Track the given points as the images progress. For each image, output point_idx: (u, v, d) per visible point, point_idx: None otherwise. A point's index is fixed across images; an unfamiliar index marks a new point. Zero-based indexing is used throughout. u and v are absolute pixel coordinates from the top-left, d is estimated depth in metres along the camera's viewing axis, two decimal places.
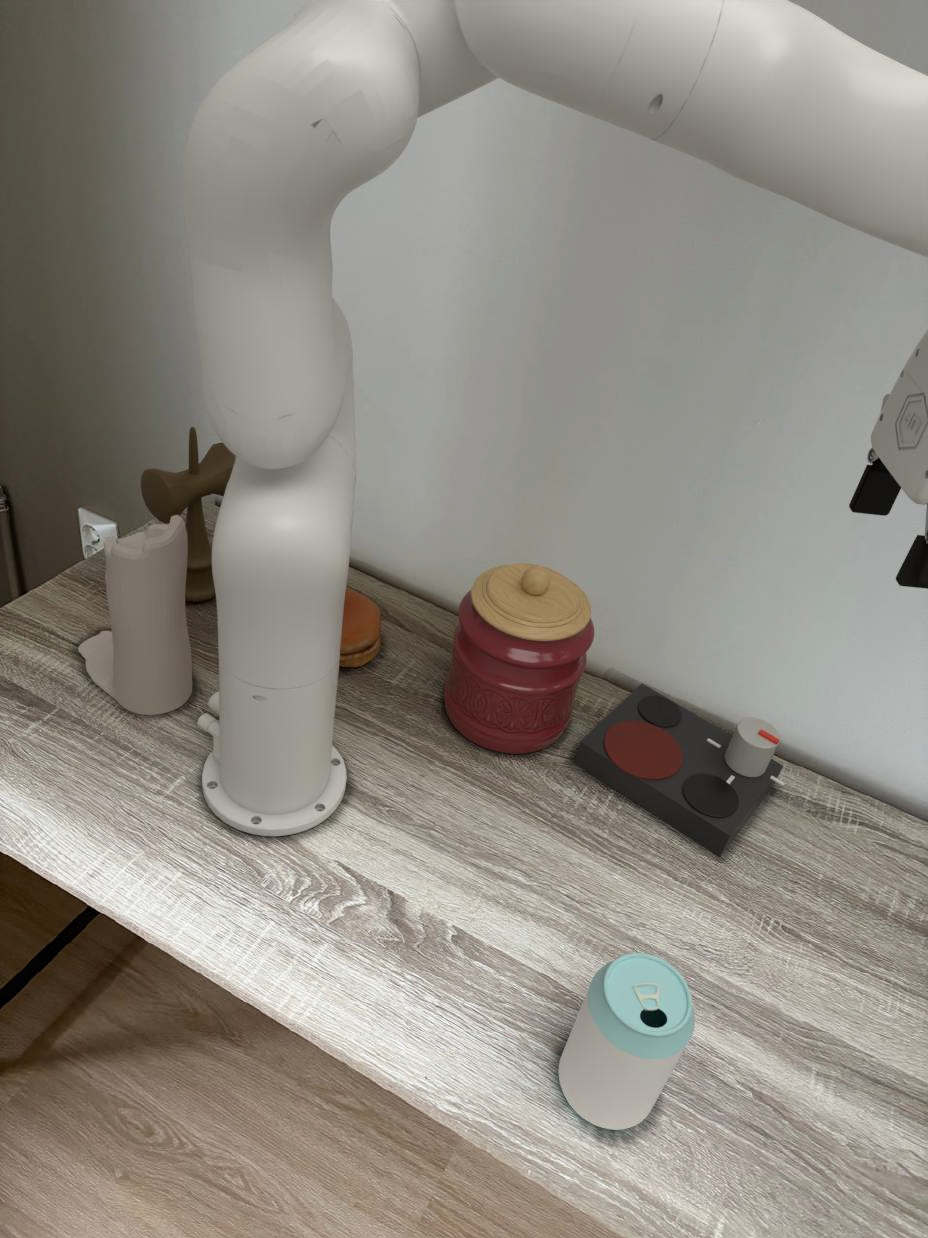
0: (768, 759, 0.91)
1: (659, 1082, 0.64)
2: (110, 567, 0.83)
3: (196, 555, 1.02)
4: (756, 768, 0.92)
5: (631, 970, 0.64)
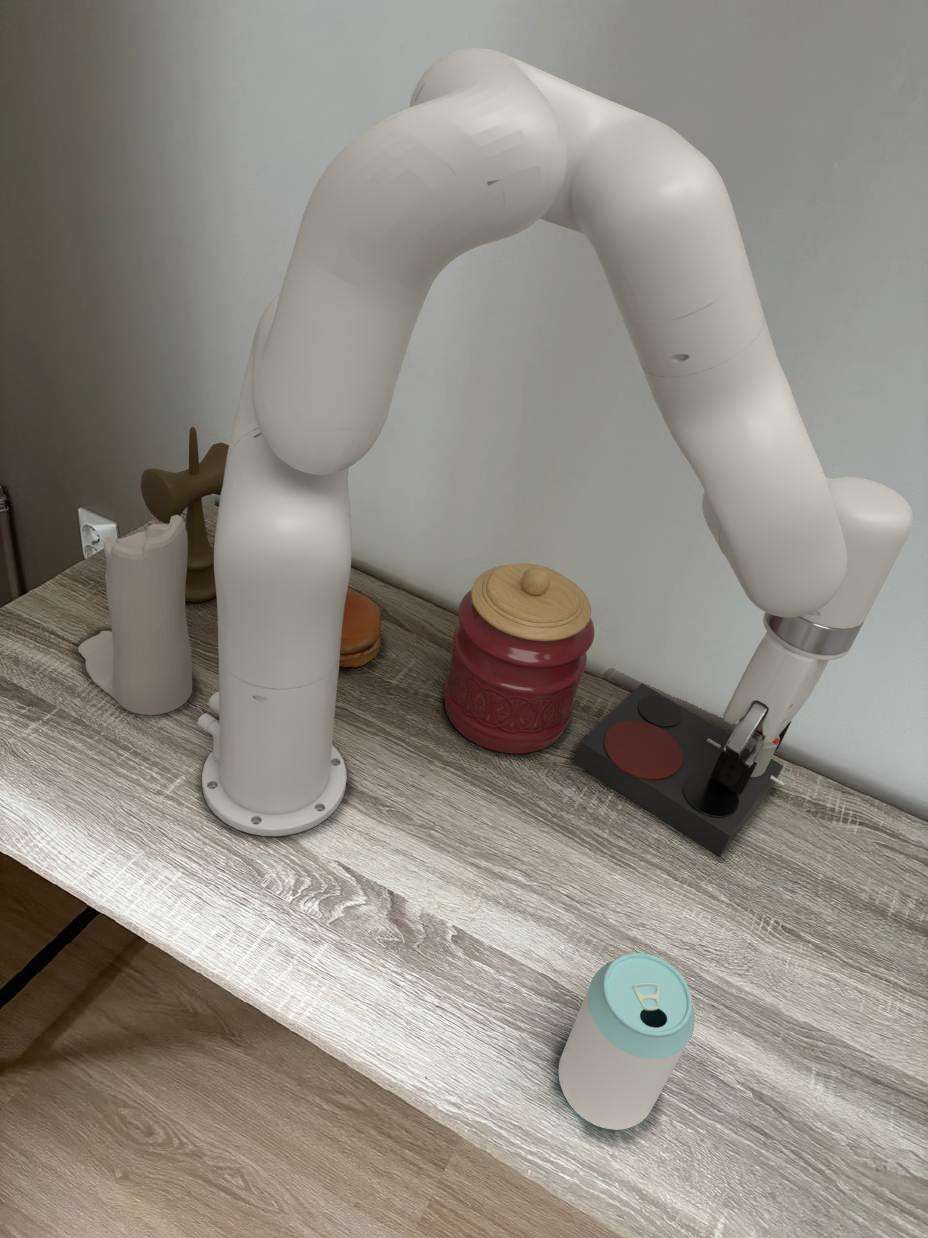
0: (768, 759, 0.91)
1: (659, 1082, 0.64)
2: (110, 567, 0.83)
3: (196, 555, 1.02)
4: (756, 768, 0.92)
5: (631, 970, 0.64)
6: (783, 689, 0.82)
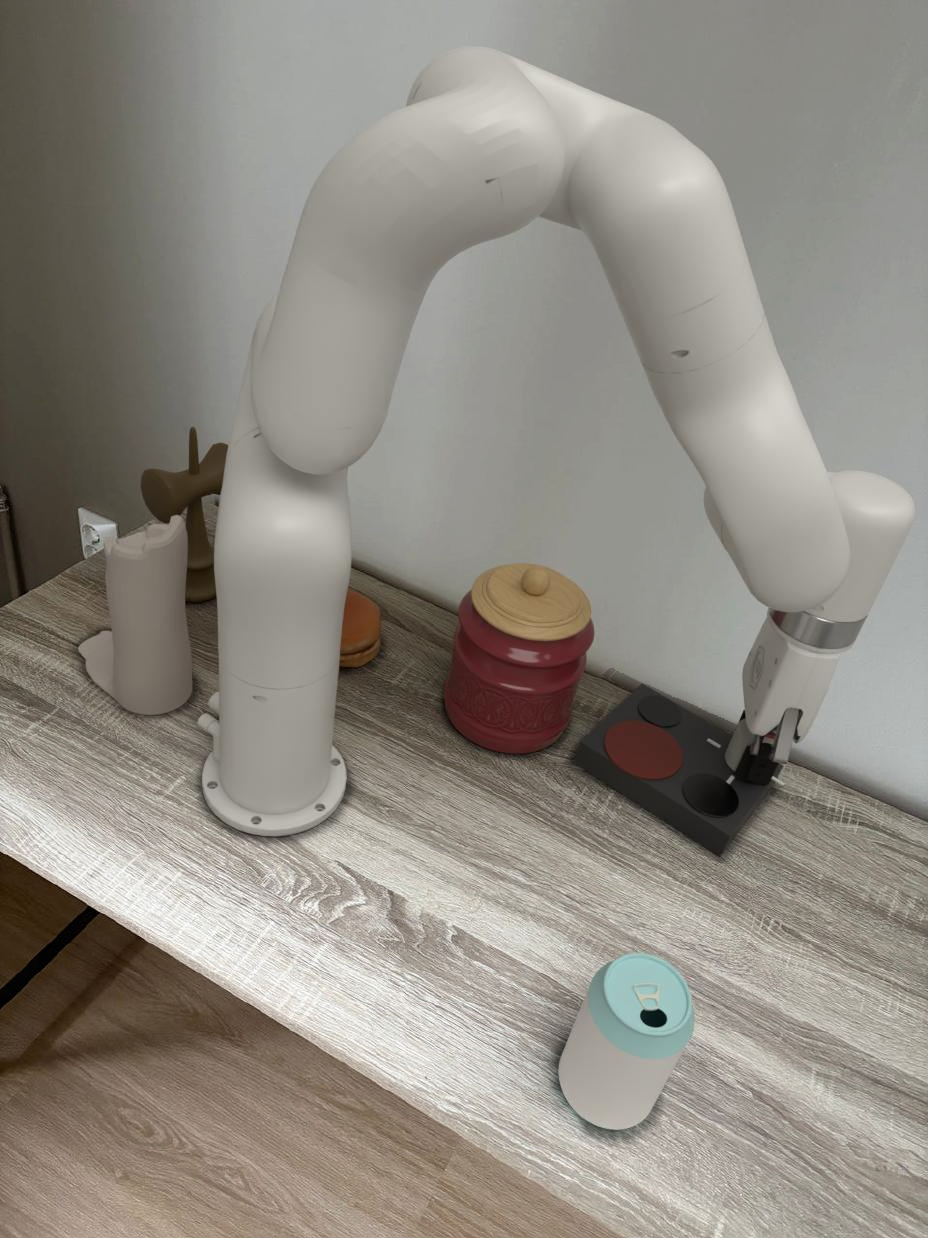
0: None
1: (659, 1082, 0.64)
2: (110, 567, 0.83)
3: (196, 555, 1.02)
4: None
5: (631, 970, 0.64)
6: (817, 690, 0.82)
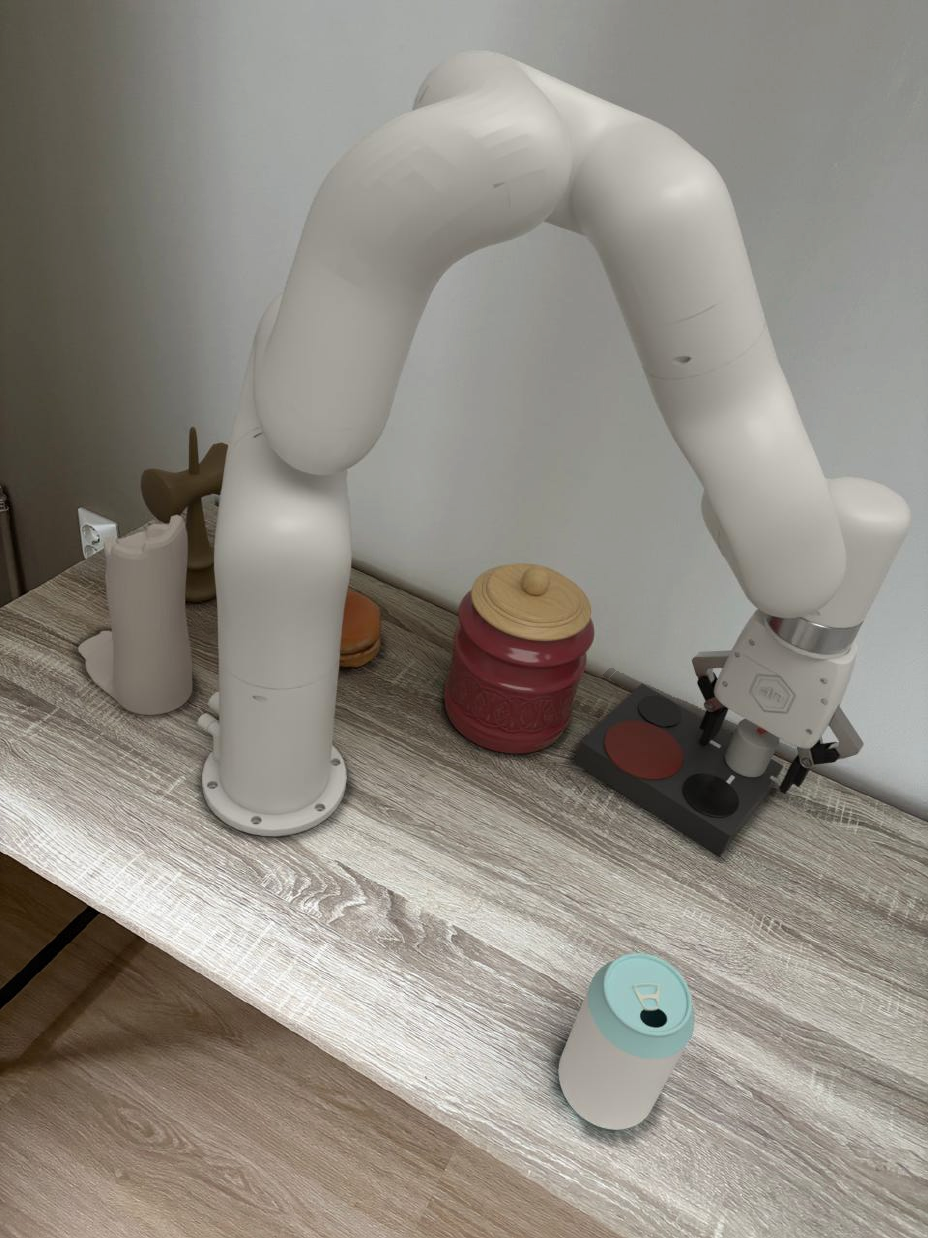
0: None
1: (659, 1082, 0.64)
2: (110, 567, 0.83)
3: (196, 555, 1.02)
4: None
5: (631, 970, 0.64)
6: (849, 679, 0.85)
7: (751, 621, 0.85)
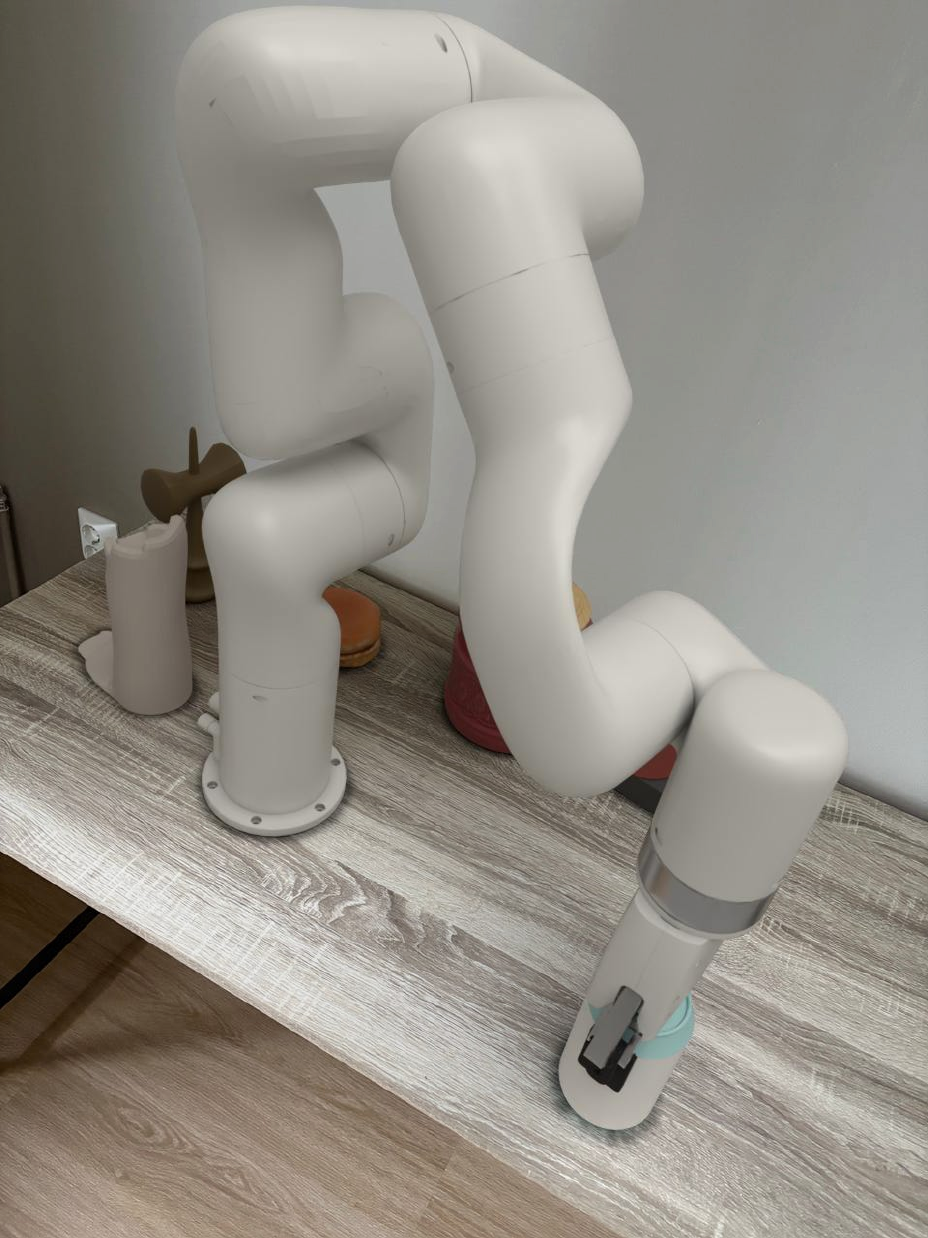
0: None
1: (659, 1082, 0.64)
2: (110, 567, 0.83)
3: (196, 555, 1.02)
4: None
5: None
6: (662, 979, 0.54)
7: None
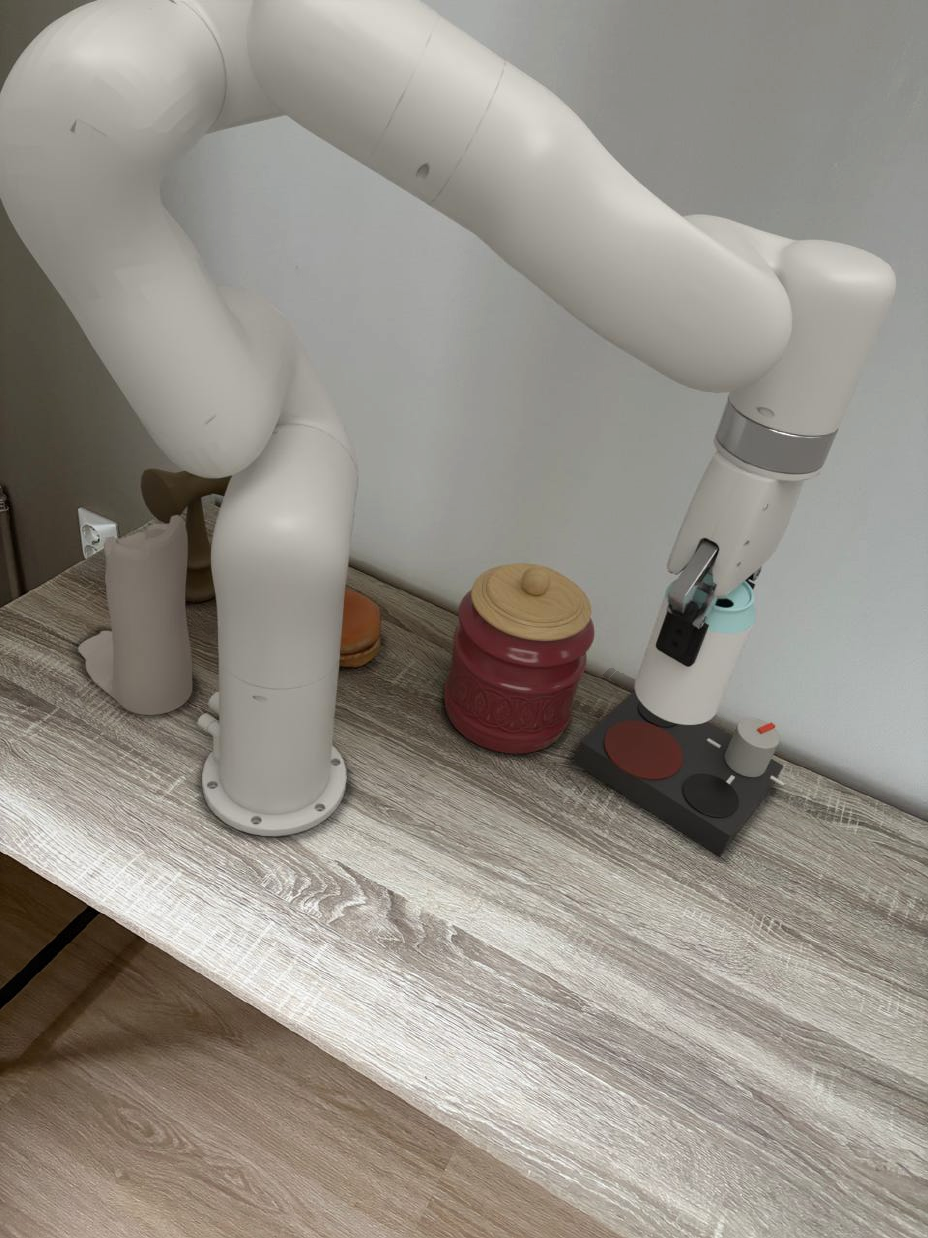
0: None
1: (725, 668, 0.75)
2: (110, 567, 0.83)
3: (196, 555, 1.02)
4: None
5: None
6: (736, 520, 0.66)
7: None
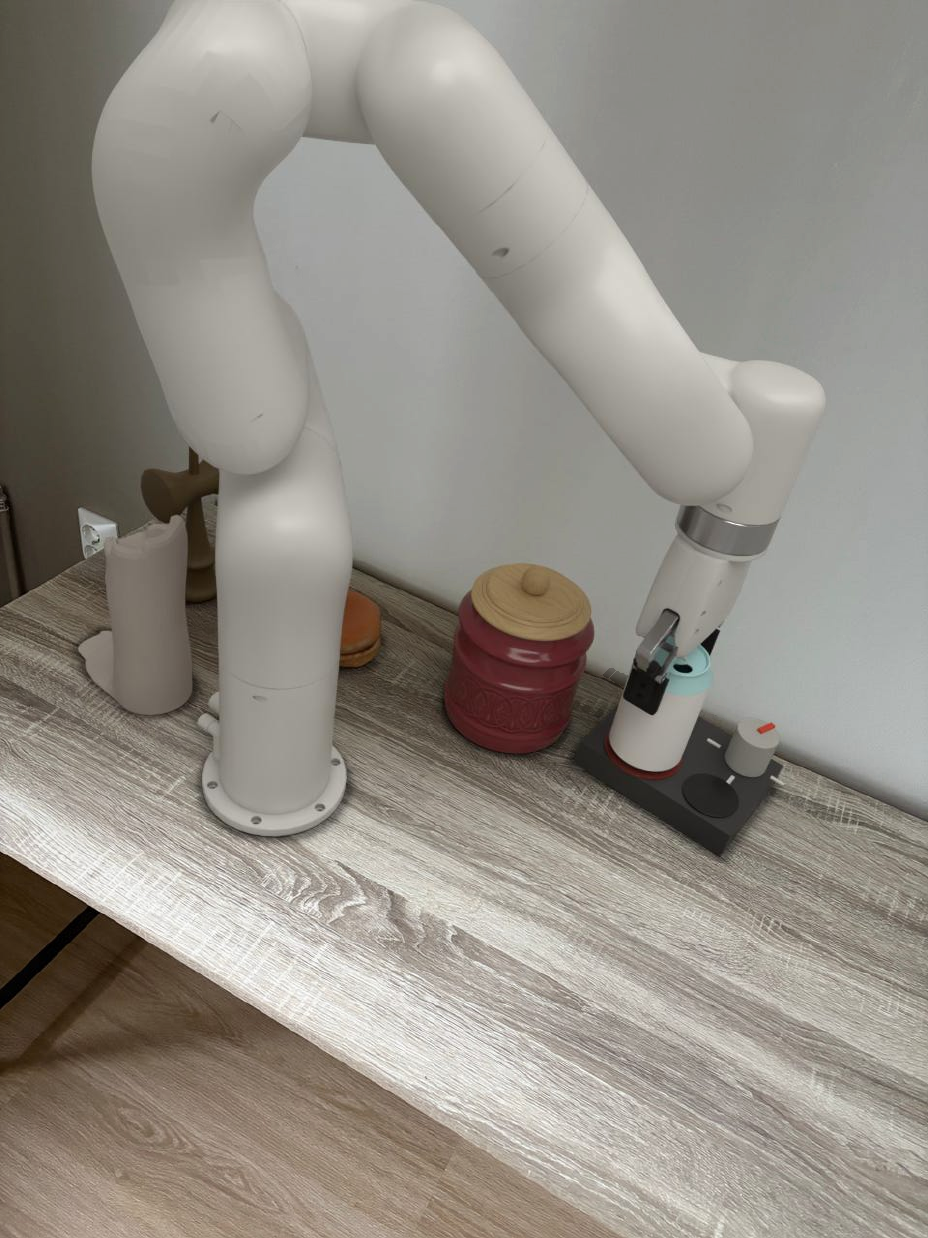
0: None
1: (686, 723, 0.87)
2: (110, 567, 0.83)
3: (196, 555, 1.02)
4: None
5: None
6: (694, 594, 0.76)
7: None
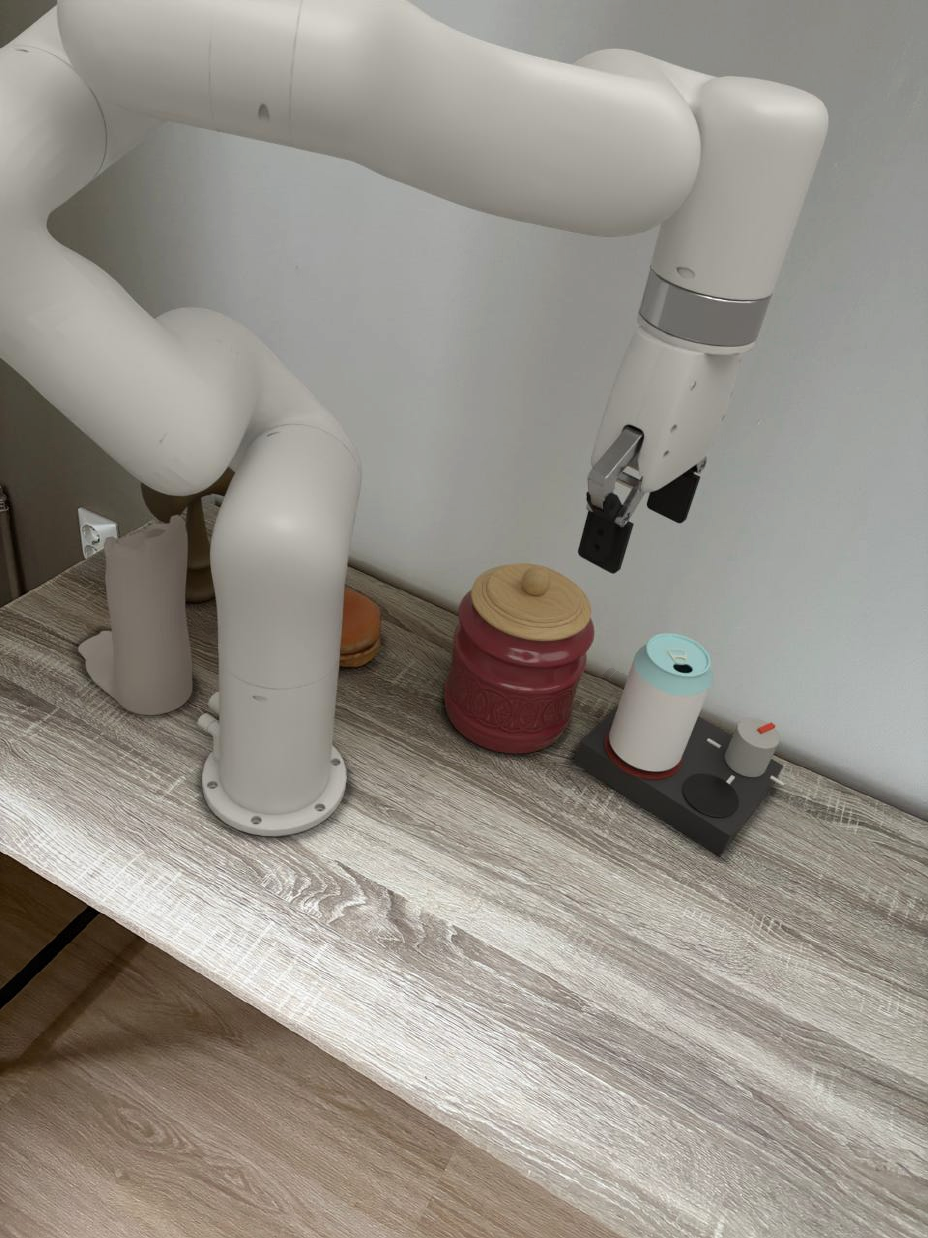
0: None
1: (686, 723, 0.87)
2: (110, 567, 0.83)
3: (196, 555, 1.02)
4: None
5: (665, 643, 0.87)
6: (661, 400, 0.59)
7: None
